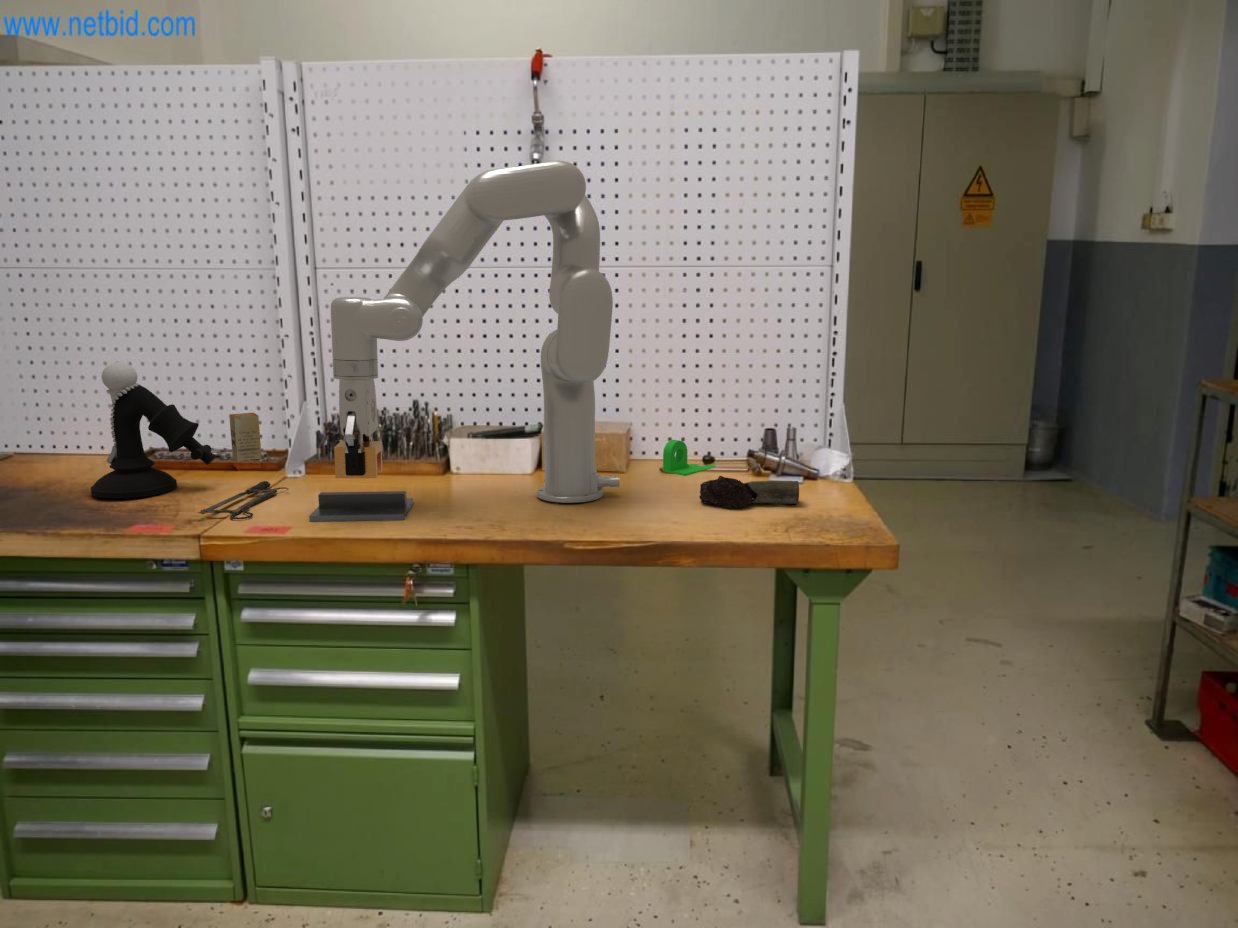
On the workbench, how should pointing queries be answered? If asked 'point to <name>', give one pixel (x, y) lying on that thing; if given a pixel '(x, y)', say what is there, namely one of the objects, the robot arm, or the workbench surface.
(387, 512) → the rail
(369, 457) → the tan wooden block
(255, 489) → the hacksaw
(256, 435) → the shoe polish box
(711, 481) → the dark elongated piece
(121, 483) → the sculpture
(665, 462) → the mechanical part
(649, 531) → the workbench surface
